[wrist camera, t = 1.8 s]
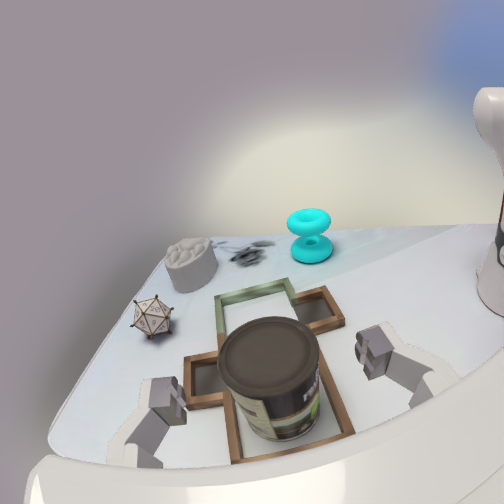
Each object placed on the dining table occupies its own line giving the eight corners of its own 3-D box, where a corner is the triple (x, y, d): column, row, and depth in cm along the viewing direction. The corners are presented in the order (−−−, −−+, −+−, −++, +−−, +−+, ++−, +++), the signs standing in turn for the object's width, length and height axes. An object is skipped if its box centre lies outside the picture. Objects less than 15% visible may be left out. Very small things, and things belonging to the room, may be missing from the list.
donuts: (283, 227, 57) (288, 208, 65) (289, 266, 62) (293, 243, 70) (330, 224, 54) (329, 205, 62) (332, 264, 59) (332, 241, 67)
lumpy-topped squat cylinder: (221, 260, 70) (212, 231, 65) (203, 294, 59) (191, 262, 55) (187, 262, 73) (177, 234, 68) (165, 292, 62) (151, 263, 58)
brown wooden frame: (316, 277, 56) (315, 269, 55) (396, 423, 26) (399, 417, 25) (189, 309, 55) (186, 302, 54) (191, 475, 25) (185, 472, 24)
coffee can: (323, 380, 35) (321, 314, 28) (315, 444, 27) (314, 399, 20) (255, 377, 38) (232, 314, 31) (238, 436, 30) (202, 388, 23)
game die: (172, 336, 54) (182, 294, 53) (165, 355, 46) (175, 308, 45) (134, 324, 53) (141, 281, 52) (121, 341, 45) (128, 293, 44)
